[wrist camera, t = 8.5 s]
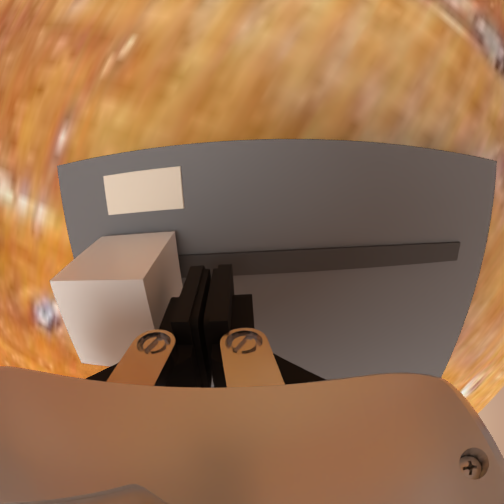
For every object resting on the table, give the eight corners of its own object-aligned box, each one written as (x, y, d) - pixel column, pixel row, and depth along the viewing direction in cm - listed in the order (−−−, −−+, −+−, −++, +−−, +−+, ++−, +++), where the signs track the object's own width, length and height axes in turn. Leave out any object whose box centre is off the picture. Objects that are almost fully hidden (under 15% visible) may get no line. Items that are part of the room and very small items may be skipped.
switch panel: (482, 157, 14) (498, 161, 13) (413, 407, 23) (420, 419, 22) (71, 162, 14) (55, 166, 12) (152, 431, 23) (149, 445, 21)
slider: (174, 231, 14) (142, 279, 9) (185, 303, 15) (166, 369, 10) (101, 236, 13) (49, 280, 9) (117, 304, 15) (81, 363, 10)
